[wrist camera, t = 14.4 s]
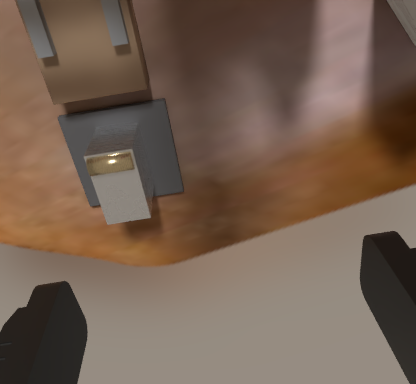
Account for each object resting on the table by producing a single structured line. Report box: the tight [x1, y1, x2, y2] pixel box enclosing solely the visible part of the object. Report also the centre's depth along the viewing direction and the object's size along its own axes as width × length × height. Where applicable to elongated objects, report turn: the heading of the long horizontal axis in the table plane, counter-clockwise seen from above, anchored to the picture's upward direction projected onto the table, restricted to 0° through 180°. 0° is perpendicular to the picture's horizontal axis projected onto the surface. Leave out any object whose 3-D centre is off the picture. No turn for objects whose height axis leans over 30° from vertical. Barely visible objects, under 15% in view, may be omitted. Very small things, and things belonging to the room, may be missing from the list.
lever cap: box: [84, 121, 154, 225], centre depth 36 cm, size 7×4×7 cm, turn 8°
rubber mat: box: [58, 98, 184, 206], centre depth 39 cm, size 10×10×1 cm
